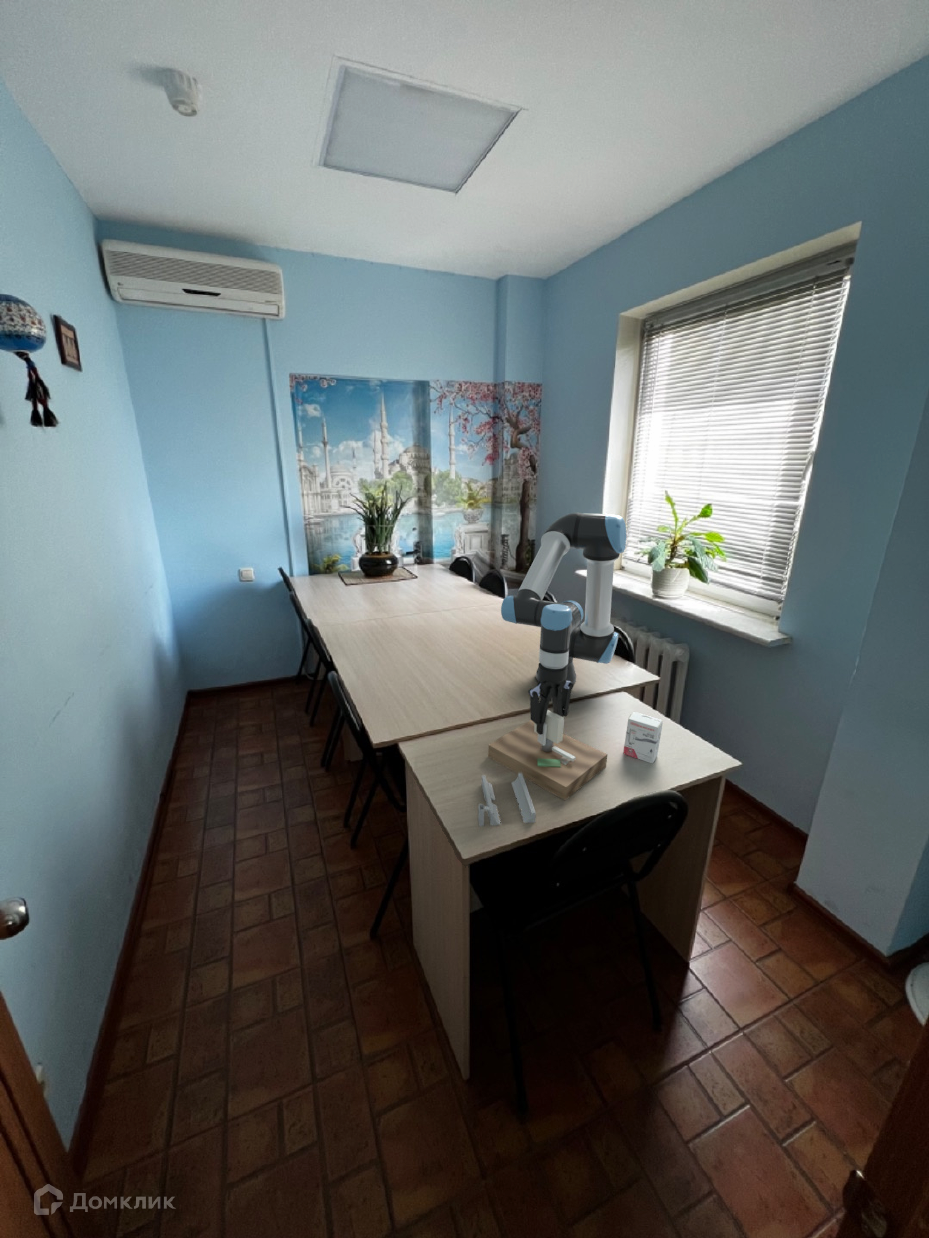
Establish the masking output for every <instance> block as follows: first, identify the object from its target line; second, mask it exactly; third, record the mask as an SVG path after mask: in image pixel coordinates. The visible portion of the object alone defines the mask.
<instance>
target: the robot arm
mask: <svg viewBox="0 0 929 1238" xmlns="http://www.w3.org/2000/svg"><path fill="white" fill-rule="evenodd" d="M626 543H627V527H626V522H625V519H624V517H622V516H621V515H618V514H617V515H616V514H610V513H589V512H571V513H567V514H565V515H562V516H561V517H559V518H557V519H556V520H555V521H554V522H552V523H551V524H550V525H549V526H548V527H547V528H546V530H545V531H544V532H543V534H542V535H541V539H540V547H539V549H538V552H537V553H536V556H535V557H534V559H533V562H532V563H531V566H530V567H529V569H528V571H527V572H526V575H525V577H524V579H523V581H522V583H521V585H520V587H519V589H518V590H517V593H516V594H515V595H506V596H505V597H504V598H503V600H502V603H501V605H500V606H501V607H500V608H501V609H500V614H501V618H502V619H503V621H505V622H509V623H513V624H516V625H517V624H518V625H525V626H532V627H536V628H540V634H539V635H540V638H539V652H538V653H539V655H538V656H539V657H538V662H539V663H538V666H537V670H536V673H535V680H536V681H537V684H536V686H535V687H534V688H529V689H528V695H529V697H530V698H529V699H530V701H529V703H530V704H529V706H530V708H529V710H530V720H532V721H533V722H534V723H535V724H537V729H536V731H537V733H538V742H540V743H541V744H542V745H543V746H545V745H546V733H547V724H546V723H545V719H546V715H547V710H549V704H550V702H552V712H553V713H555V714H558V715H560V716H562V717H567V716H568V715H569V709H570V701H571V695H572V694H571V693H572V692H573V691H572V690H573V688H574V686H575V684H576V683H575V682H577V673H576V670H575V665H574V659H577V660H583V661H588V662H593V663H597V664H609V663H611V661H612V659H613V658H614V654H615V650H616V648H617V644H618V640H619V633H618V632H616V631H615V628H614V627H615V626H614V625H613V624H612V623H611V612H612V610H611V609H612V596H613V586H614V585H613V583H614V573H615V572H614V571H615V569H614V568H615V561H617V560H618V559H619V558H620V555H621V554H623V553H624V552H625V550H626V545H627V544H626ZM570 549H576V550H582V558H584V559H585V560H586V579H585V580H586V584H585V608H584V610H583V607H582V606H581V604H580V603H578V602H577V601H576V600H573V599H572V600H569V599H568V600H565V601H562V602H557V601H550V600H549V601H548V600H543V599H544V597H545V595H546V593H547V590H548V588H549V586H550V584H551V582H552V580H553V578H554V575H555V573H556V572H557V569H558V566H559V565H560V563H561V561H562V559H563V557H564V556H565V555H566V554H567V553H568V552H569V551H570ZM583 619H584V621H583ZM582 621H583V622H582Z"/></svg>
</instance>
